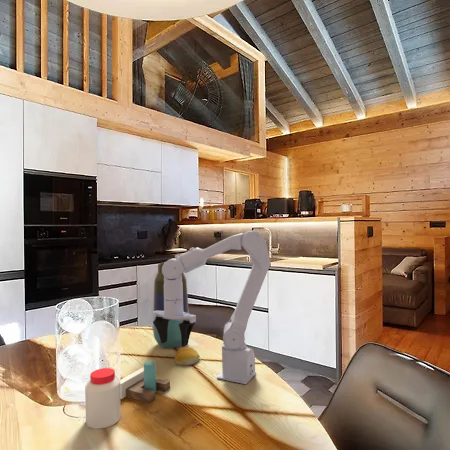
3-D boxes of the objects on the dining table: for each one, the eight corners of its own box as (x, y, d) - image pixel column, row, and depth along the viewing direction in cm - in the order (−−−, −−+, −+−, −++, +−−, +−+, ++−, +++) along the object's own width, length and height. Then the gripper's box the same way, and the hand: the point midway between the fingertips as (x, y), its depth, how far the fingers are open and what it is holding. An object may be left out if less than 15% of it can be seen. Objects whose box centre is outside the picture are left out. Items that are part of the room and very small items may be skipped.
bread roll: (177, 367, 111) (176, 355, 111) (173, 357, 119) (173, 346, 119) (202, 364, 113) (202, 352, 113) (197, 354, 122) (196, 343, 122)
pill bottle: (83, 431, 77) (82, 382, 77) (87, 413, 84) (87, 368, 84) (120, 425, 79) (119, 377, 79) (121, 408, 86) (120, 364, 86)
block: (170, 388, 96) (170, 380, 96) (149, 403, 88) (149, 395, 88) (147, 382, 100) (147, 375, 100) (125, 396, 92) (125, 389, 92)
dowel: (158, 391, 95) (158, 362, 95) (151, 396, 92) (150, 366, 92) (149, 389, 96) (148, 360, 96) (141, 394, 93) (141, 364, 93)
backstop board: (151, 380, 101) (150, 366, 101) (121, 399, 91) (121, 383, 91) (145, 379, 102) (145, 365, 102) (115, 397, 92) (115, 382, 92)
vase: (196, 342, 134) (195, 262, 135) (173, 353, 123) (171, 265, 123) (169, 336, 142) (168, 260, 142) (145, 347, 130) (143, 264, 130)
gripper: (201, 298, 104) (201, 343, 104) (162, 294, 111) (163, 336, 110) (188, 302, 98) (189, 350, 98) (147, 298, 104) (148, 343, 104)
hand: (174, 344), depth 104 cm, fingers open, 7 cm apart
